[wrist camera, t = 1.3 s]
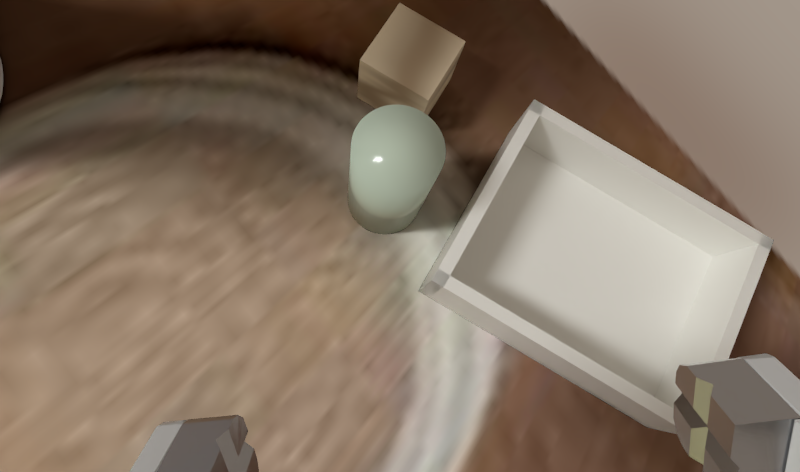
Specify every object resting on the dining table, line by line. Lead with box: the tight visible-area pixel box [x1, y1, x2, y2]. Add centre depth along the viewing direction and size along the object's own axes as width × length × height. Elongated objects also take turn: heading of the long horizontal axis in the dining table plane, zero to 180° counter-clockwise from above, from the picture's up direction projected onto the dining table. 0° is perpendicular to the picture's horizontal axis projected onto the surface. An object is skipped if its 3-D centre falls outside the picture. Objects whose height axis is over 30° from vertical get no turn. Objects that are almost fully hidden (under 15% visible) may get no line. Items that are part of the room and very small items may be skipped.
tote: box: [419, 99, 774, 434], centre depth 34 cm, size 18×14×5 cm
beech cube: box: [357, 3, 466, 115], centre depth 36 cm, size 5×5×5 cm
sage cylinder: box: [348, 105, 446, 234], centre depth 32 cm, size 5×5×9 cm
